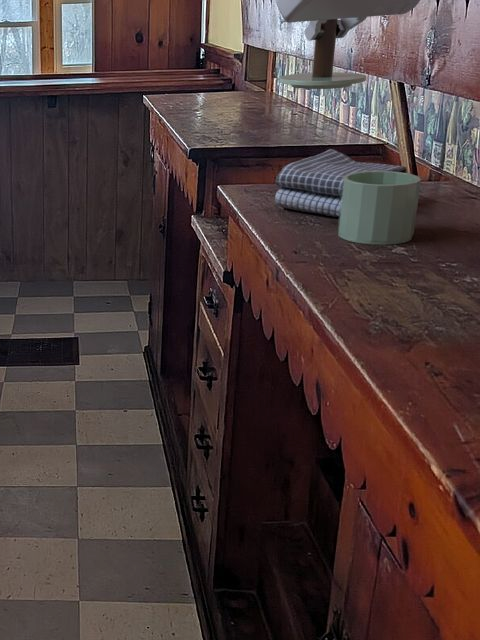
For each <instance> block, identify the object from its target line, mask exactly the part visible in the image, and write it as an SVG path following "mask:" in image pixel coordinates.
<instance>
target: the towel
mask: <svg viewBox="0 0 480 640" xmlns="http://www.w3.org/2000/svg"><path fill="white" fill-rule="evenodd" d="M364 171H392V172H402V173H408V168H407V167H406V166H404V165H394V164H386V163H379V162H378V163H374V162H366V161H364V162H363V161H362V162H360V161H355V160H354V159H353V158H351V157H349V156H348V155H346V154H344V153H343V152H340V151H337V150H336V149H334V148H330V149H328V150H326V151H323V152H322V153H318V154H316V155H313V156H308V157H306V158H302V159H300V160H297V161H294V162H289V163H288V164H286V165H284V166H283V167H282V168H281V170H280V171H279V173H278V174H277V175H276V177H275V185H276V186H277V187H279V189H278V190H277V191H276V193H275V195H274V198H273V199H274V202H275V204H276V206H278V207H281V208H285V209H289V210H291V211H292V210H293V211H298V212H303V213H310V214H311V213H312V214H319V215H324V216H327V217H330V216H331V217H333V218H339V211H340V201H341V192H342V182H343V176H345V175H347V174H350V173H355V172H364Z"/></svg>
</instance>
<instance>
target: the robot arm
mask: <svg viewBox="0 0 480 640" xmlns="http://www.w3.org/2000/svg"><path fill="white" fill-rule="evenodd" d="M420 2H421V0H275V4H276V7H277V9H278V11H279V14H280V15H281V17H282V19H283V21H285V22H286V23H300V22H301V23H304V22H308V25H307V26H306V27H305V29H304V36H305V38H306V40H307V41H309V42H310V41H315V40H319V39H320V36H322V35H323V33H324V32H325V31H324V29H323V28H322V27H321V23H326V21H327V20H330V19H338V22H337V33H336V39H343V38H345V37H346V35H347V34H348V33H349V32H350V31H351V30H352V29H354V28H355V27H357V26H359V25H360V24H361V23H363V22H364V21H366V19H367V18H368V17H383V16H396V15H405V14H407V13H409V12H411V11H412V10H413V9H415V8H416V7H417V6H418V4H419V3H420Z"/></svg>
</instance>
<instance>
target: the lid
mask: <svg viewBox="0 0 480 640" xmlns="http://www.w3.org/2000/svg"><path fill="white" fill-rule="evenodd" d="M338 20H339V19H330V20H327V21H326V23H321V27H322V28H323V29H324V31H325V32H324V33H323V35H322V36H320V39H319V40H314V50H313V58H312V59H313V60H312V71H311V72H303V73H292V74H285V75H281V76H279V77H278V83H279V84H282V85H288V86H291V87H292V88H294V89H302V90H303V89H304V90H333V89H334V90H335V89H343V88H350V87H352V86H353V85H355V84H361V83H364V82H366V81H367V75H366V74H363V73H357V72H339V71H338V72H337V71H336V72H334V65H335V64H334V62H335V54H336V53H335V52H336V42H337V38H336V33H337V22H338Z"/></svg>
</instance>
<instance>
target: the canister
mask: <svg viewBox="0 0 480 640" xmlns="http://www.w3.org/2000/svg"><path fill="white" fill-rule="evenodd" d="M421 184H422V179H421V177H420V176H419V175H415V174H413V173H408V172H407V173H402V172H392V171H364V172H355V173H350V174H347V175H345V176H343V182H342V192H341V201H340V211H339V217H338V221H337V236H338V237H339V238H341V239H343V240H345V241H348V242H352V243H355V244H356V243H357V244H362V245H373V246H375V245H377V246H388V245H399V244H403V243H404V244H405V243H407V242H410V241H411V240H412V239H413V236H414V235H415V227H416V220H417V211H418V205H419V199H420V198H419V197H420V191H421Z"/></svg>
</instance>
